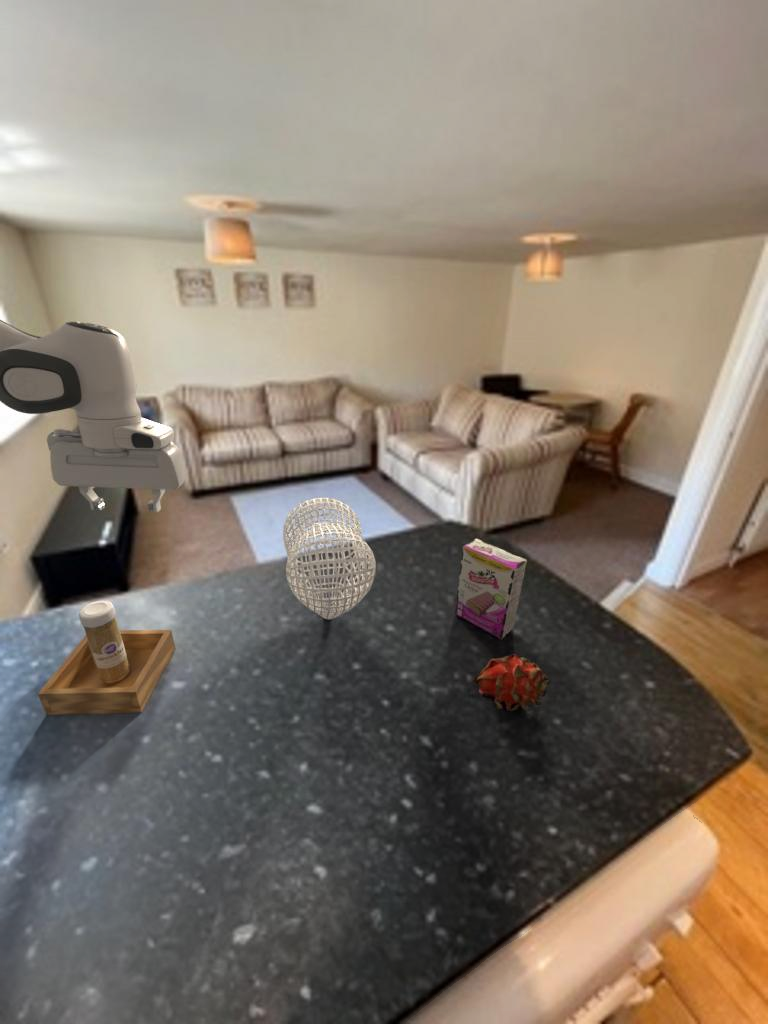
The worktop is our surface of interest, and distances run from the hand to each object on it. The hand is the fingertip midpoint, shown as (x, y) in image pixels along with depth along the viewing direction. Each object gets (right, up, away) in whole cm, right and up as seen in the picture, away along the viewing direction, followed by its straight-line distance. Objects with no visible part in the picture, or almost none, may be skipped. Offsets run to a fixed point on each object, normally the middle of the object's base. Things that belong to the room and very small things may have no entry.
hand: (126, 510), depth 78 cm
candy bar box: (+65, -23, +12) cm, 70 cm away
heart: (+34, -21, +13) cm, 42 cm away
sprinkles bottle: (+1, -27, -4) cm, 28 cm away
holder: (+1, -28, -4) cm, 28 cm away
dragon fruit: (+65, -31, -5) cm, 72 cm away
